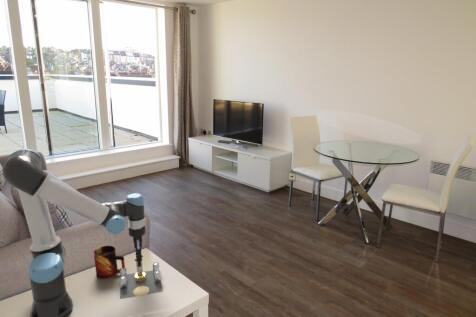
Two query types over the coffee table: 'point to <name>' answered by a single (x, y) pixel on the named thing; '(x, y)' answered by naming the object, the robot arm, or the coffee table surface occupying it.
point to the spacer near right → (157, 276)
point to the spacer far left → (123, 272)
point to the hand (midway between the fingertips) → (139, 271)
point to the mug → (107, 262)
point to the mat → (140, 286)
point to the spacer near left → (123, 282)
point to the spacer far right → (155, 266)
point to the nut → (140, 277)
